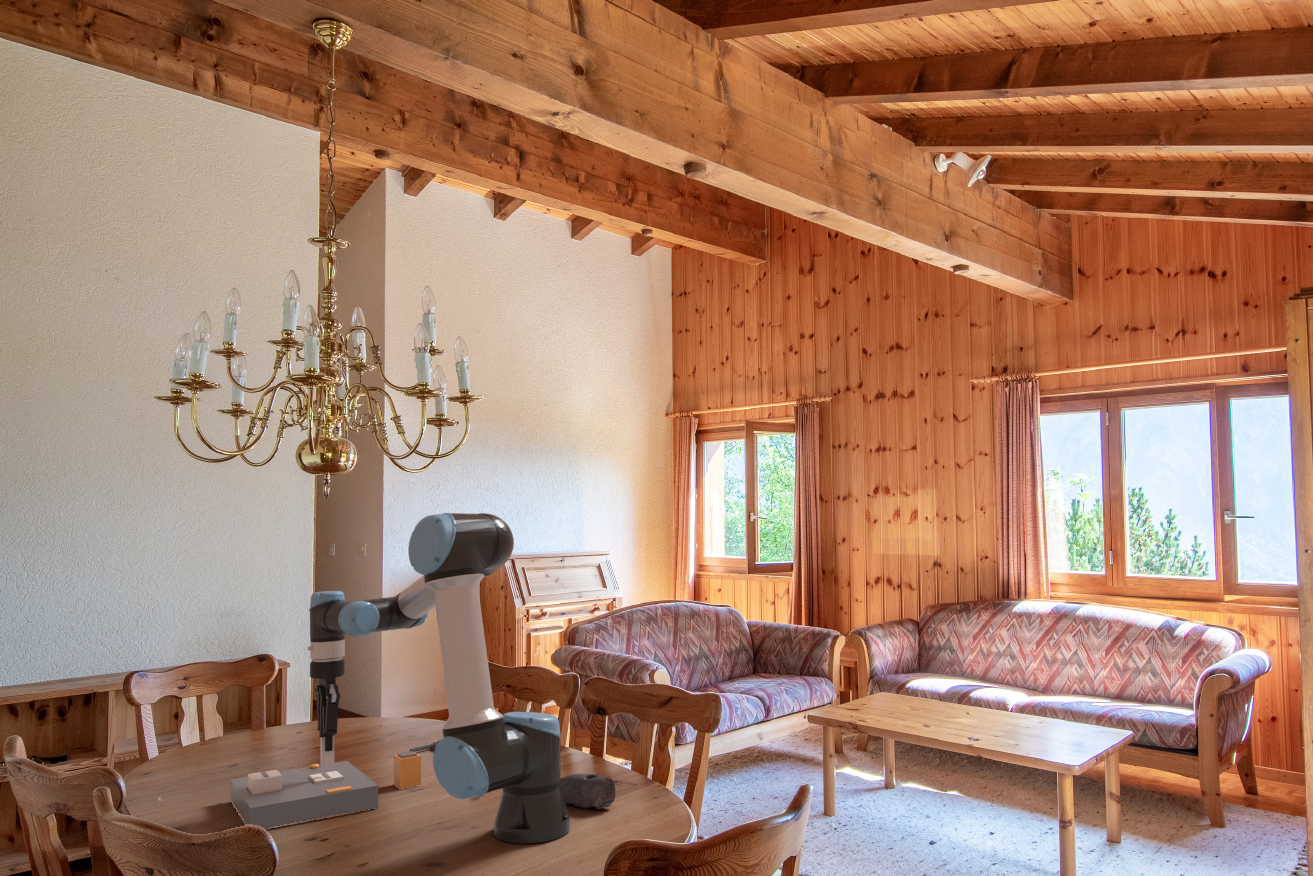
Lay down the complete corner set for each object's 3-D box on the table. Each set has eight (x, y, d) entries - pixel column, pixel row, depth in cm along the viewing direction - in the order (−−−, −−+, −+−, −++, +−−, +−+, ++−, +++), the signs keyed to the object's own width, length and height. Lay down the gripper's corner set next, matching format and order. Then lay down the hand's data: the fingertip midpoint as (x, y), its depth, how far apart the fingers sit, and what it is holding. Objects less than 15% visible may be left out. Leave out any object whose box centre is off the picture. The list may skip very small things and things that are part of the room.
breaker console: (378, 808, 199) (378, 782, 199) (249, 833, 185) (250, 805, 185) (346, 782, 220) (347, 758, 221) (230, 802, 206) (230, 776, 207)
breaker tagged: (342, 799, 204) (343, 775, 205) (315, 804, 201) (315, 780, 202) (336, 793, 209) (336, 769, 210) (309, 797, 206) (309, 774, 207)
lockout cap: (420, 786, 216) (421, 754, 216) (400, 789, 213) (400, 757, 214) (414, 781, 220) (414, 750, 221) (393, 785, 217) (393, 753, 218)
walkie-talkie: (469, 741, 261) (407, 755, 246) (469, 725, 261) (407, 738, 247) (487, 745, 255) (425, 760, 240) (487, 729, 255) (425, 743, 241)
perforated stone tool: (549, 804, 199) (548, 772, 200) (564, 798, 204) (564, 766, 204) (603, 815, 191) (602, 781, 192) (618, 808, 195) (617, 775, 196)
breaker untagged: (281, 799, 198) (282, 774, 198) (252, 804, 194) (252, 779, 195) (276, 792, 203) (276, 768, 203) (247, 797, 199) (247, 773, 200)
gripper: (303, 658, 211) (303, 762, 209) (317, 664, 201) (316, 774, 198) (336, 655, 216) (337, 757, 213) (351, 660, 205) (351, 768, 202)
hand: (327, 765), depth 206 cm, fingers closed
